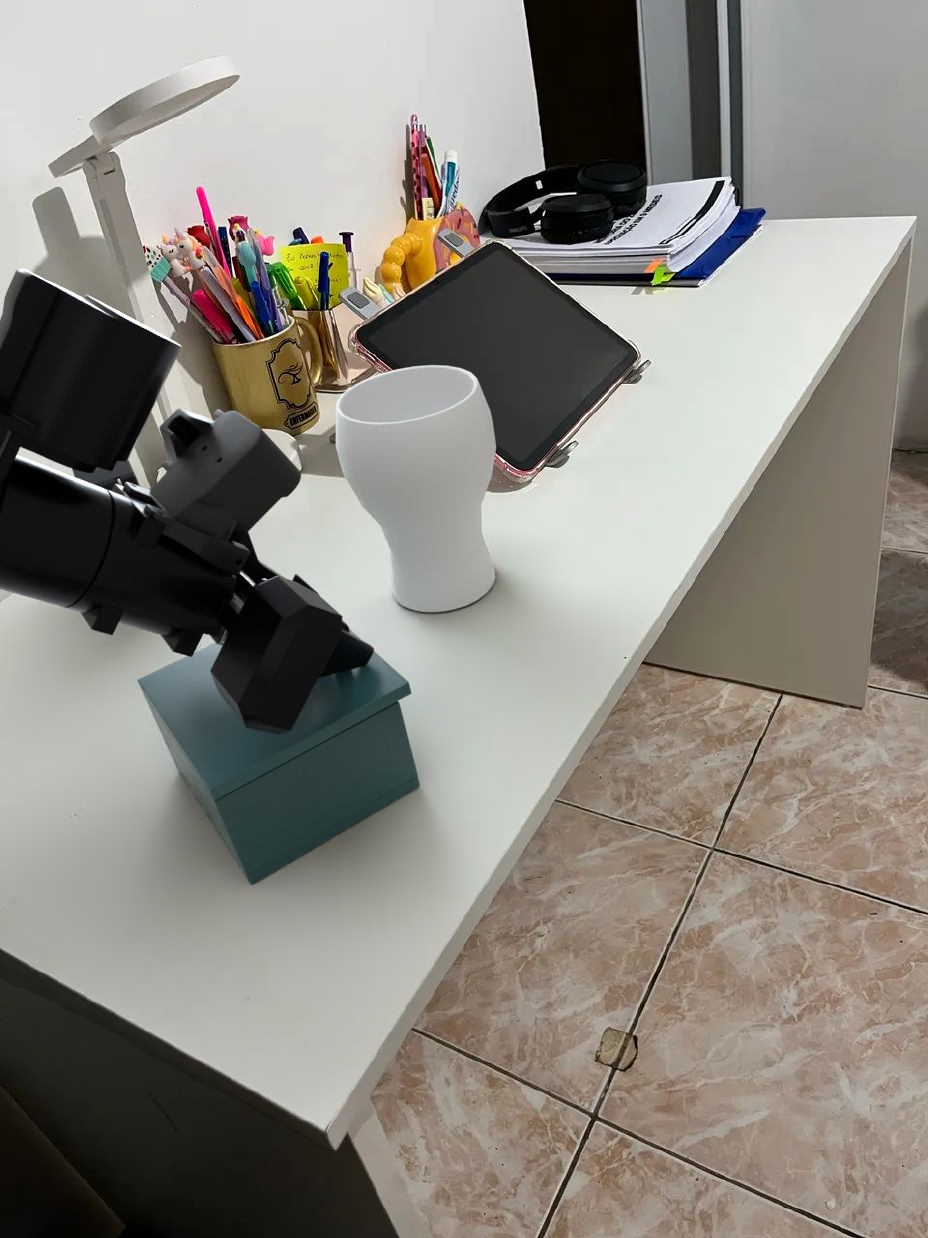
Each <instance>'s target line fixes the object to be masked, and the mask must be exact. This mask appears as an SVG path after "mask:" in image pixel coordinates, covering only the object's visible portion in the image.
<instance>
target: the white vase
mask: <svg viewBox="0 0 928 1238" xmlns="http://www.w3.org/2000/svg"><path fill="white" fill-rule="evenodd" d="M335 404H336V406H335V448H336V452H337V457H338V460H339V464H340V468H341V472H342V474H343V476H344V478H345V480H346V482H347V483H348V485H349V487H350V488H351V490H352V491H353V493H354V495H355V496H356V498H357V500H358V502H359V503H360V506H362V508H363V509H364V510H365V511H366V512H367V513H368V515H370V517H372V518H373V519H374V521H375V522H376V523H377V524H378V526H380V529H381V531H382V534H383V536H384V539H385V541H386V545H387V547H388V550H389V553H390V555H389V557H390V580H391V581H390V582H391V591H392V595H393V597H394V599H395V601H396V602H397V603H398V604H400V605H401V606H402V607H404V608H406V609H409V610H412V611H416V612H423V613H441V612H448V611H454V610H457V609H460V608H463V607H466V606H468V605H470V604H473V603H475V602H476V601H478V600H480V599H481V598H482V597H484V596H485V595H486V594H487V593H489V591H490V589H492V587H493V586H494V583H495V580H496V573H495V567H494V565H493V561H492V557H491V555H490V552H489V549H488V546H487V543H486V541H485V537H484V535H483V533H482V529H483V527H482V523H483V522H482V503H483V501H484V499H485V496H486V493H487V491H488V488H489V485H490V482H491V479H492V476H493V472H494V471H493V470H494V463H495V457H496V452H497V451H496V450H497V444H496V436H495V429H494V422H493V417H492V416H493V415H492V412H491V408H490V406H489V404H488V402H487V399H486V397H485V394H484V391H483V389H482V387H481V384H480V382H479V379H478V378H477V376H475V375H474V374H473V373H472V371H469V370H466V369H465V368H462V367H458V366H452V365H441V364H440V365H437V364H429V365H415V366H410V367H403V368H397V369H394V370H389V371H386V372H382V373H378V374H376V375H373V376H371V377H369V378H366V379H363V380H362V381H360V382H358V383H355V384H354V385H352V386H351V387H349V388H348V389H347V390H346V391H344V392H343V393H342V394H341V395H340V397H339V398H338V399H337V401H336V403H335Z"/></svg>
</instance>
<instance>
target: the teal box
mask: <svg viewBox="0 0 928 1238" xmlns="http://www.w3.org/2000/svg"><path fill="white" fill-rule="evenodd" d="M142 694H143V697H144V699H145V701H146V703H147V705H148V707H149V710H150V712H151V714H152V716H153V719H154V720H155V723H156V725H157V727H158V729H159V732H160V734H161V737H162V738H163V741H164V743H165V745H166V747H167V750H168V751H169V754H170V756H171V758H172V760H173V763H174V765H175V767H176V769H177V771H178V772H179V774H180V775H181V777H182V779H183V780H184V782H185V784H186V785H187V787H188V788H189V790H190V792H191V793H192V795H193V796H194V798H195V800H196V801H197V802H198V805H199V806H200V807H201V809H202V810H203V812H204V814H205V816H206V817H207V819H208V820H209V822H210V823H211V825H212V826H213V828H214V829H215V831H216V832H217V834H218V836H219V838H220V839H221V840H222V843H223V844H224V845H225V847H226V849H227V850H228V852H229V853H230V855H231V857H232V858H233V859H234V861H235V863H236V864H237V866H238V867H239V869H240V871H241V873H242V874H243V876H244V877H245V879H246V880H247V882H248V883H249V885H255V884H256V883H258V882H259V881H261V880H263V879H264V878H266V877H268V876H269V875H271V874H273V873H275V872H276V871H278V870H279V869H282V868H283V867H285V866H286V865H288V864H290V863H291V862H293V861H295V860H296V859H299V858H301V857H302V856H303V855H306V854H307V853H309V852H310V851H312V850H313V849H315V848H317V847H319V846H321V845H322V844H324V843H326V842H327V841H329V840H330V839H332V838H334V837H336V836H338V835H340V834H341V833H343V832H344V831H346V830H348V829H349V828H351V827H353V826H355V825H356V824H358V823H360V822H361V821H363V820H365V819H366V818H368V817H370V816H372V815H374V814H375V813H377V812H379V811H380V810H382V809H383V808H385V807H387V806H389V805H390V804H392V803H394V802H395V801H397V800H399V799H400V798H403V797H404V796H406V795H408V794H409V793H410V792H412V791H414V790H416V789H418V788H419V787H421V785H420V780H419V776H418V775H419V774H418V771H417V767H416V762H415V759H414V756H413V751H412V748H411V744H410V743H411V742H410V739H409V735H408V731H407V728H406V723H405V719H404V715H403V711H402V709H401V708H402V707H401V704H400V702H399V701H397V702H395V703H393V704H391V705H390V706H388V707H386V708H384V709H382V710H380V711H379V712H377V713H375V714H373V715H371V716H369V717H368V718H366V719H364V720H362V721H360V722H358V723H357V724H355V725H353V726H351V727H349V728H347V729H346V730H344V731H342V732H340V733H338V734H336V735H335V736H333V737H331V738H329V739H327V740H325V741H324V742H322V743H320V744H318V745H316V746H314V747H313V748H311V749H309V750H307V751H305V752H303V753H302V754H300V755H298V756H296V757H294V758H292V759H291V760H289V761H287V762H285V763H283V764H281V765H279V766H278V767H276V768H274V769H272V770H270V771H268V772H267V773H265V774H263V775H261V776H259V777H257V778H256V779H254V780H252V781H250V782H248V783H246V784H245V785H243V786H241V787H239V788H237V789H235V790H234V791H232V792H230V793H228V794H226V795H224V796H223V797H221V798H219V799H217V800H213V798H212V797H211V795H210V793H209V792H208V790H207V789H206V787H205V786H204V784H203V783H202V781H201V780H200V778H199V777H198V775H197V774H196V772H195V771H194V769H193V768H192V766H191V764H190V763H189V761H188V760H187V758H186V757H185V755H184V754H183V752H182V751H181V749H180V748H179V746H178V745H177V743H176V742H175V740H174V739H173V737H172V736H171V734H170V732H169V731H168V729H167V728H166V726H165V725H164V723H163V722H162V720H161V719H160V717H159V716H158V714H157V713H156V711H155V710H154V708H153V707H152V705H151V704H150V702H149V700H148V699H147V697H146V696H145V694H144V693H143V692H142Z"/></svg>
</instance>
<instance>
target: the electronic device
mask: <svg viewBox="0 0 928 1238" xmlns="http://www.w3.org/2000/svg"><path fill="white" fill-rule="evenodd" d="M71 470H72V473H73V477H76V478H78V479H81V480H83V481H86V482H89V483H91V484H94V485H96V486H99V487H102V488H104V489H107V490H109V491H112V489H113V487H114V484H118V485H120V486H124V484H125V482H129V483H132V484H134V485H137V486H139V487H141V484H140V482H139V479H138V478H137V475H136V473H135V470H134V468H133V467H132V465H131V462H130V460H129V459H128V461H126V462H124V461H117V463H116V465H115V467H114V469H113V471H109V470H105V469H102V468H98V467H97V469H96V471H95V473H86V472H81V471H78V470H75V469H72V468H71Z"/></svg>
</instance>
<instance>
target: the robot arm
mask: <svg viewBox="0 0 928 1238" xmlns="http://www.w3.org/2000/svg"><path fill="white" fill-rule="evenodd" d="M182 348H183V346H182V345H181V344H179V343H177V342H176V341H175V340H173V339H171V338H169V337H167V336H165V335H163V334H162V333H159V332H158V331H156V330H155V329H153V328H151V327H149V326H147V325H145V324H143V323H141V322H139V321H138V320H135V319H134V318H132V317H131V316H128V315H126V314H125V313H122V312H121V311H119V310H117V309H115V308H113V307H112V306H109V305H107V304H105V303H104V302H103V301H100V300H98V299H96V298H94V297H93V296H90V295H88V294H85V295H84V297H82V296H80V295H78V294H76V293H75V292H73V291H70V290H69V289H66V288H65V287H62V286H60V285H58V284H57V283H54V282H52V281H49V280H46V279H45V278H43V277H42V276H40V275H38V274H35V273H33V272H32V271H30V270H28V269H26V268H20V269H16V270H15V272H14V274H13V277H12V279H11V281H10V282H9V286H8V288H7V290H6V293H5V295H4V300H3V307H2V314H1V316H0V590H2V591H6V592H9V593H13V594H16V595H18V596H23V597H26V598H30V599H33V600H37V601H39V602H44V603H47V604H51V605H54V606H58V607H61V608H64V609H68V610H72V611H74V612H79V613H80V614H81V615H82V617H83V619H84V620H85V622H86V623H87V625H88V627H89V628H90V630H92V631H95V632H99V633H102V634H106V635H110V636H113V635H114V633H115V631H116V629H117V628H118V625H119V624H121V625H125V626H128V627H131V628H135V629H138V630H141V631H142V630H143V631H146V632H150V633H152V634H156V635H159V636H160V637H161V638H162V639H163V641H164V642H165V643H166V644H167V646H168V647H169V648H170V649H171V651H172V652H173V653H175V654H178V655H182V656H185V657H186V656H189V657H192V656H193V654H194V653H195V652H196V650H197V648H198V646H199V644H200V642H201V640H202V639H203V636H204V635H207V636H210V638H211V639H212V640H213V641H214V643H216V644H219V645H223V646H222V648H221V650H220V652H219V654H218V656H217V658H216V660H215V662H214V664H213V666H212V668H211V670H210V672H211V674H212V677H213V679H214V682H215V684H216V687H217V689H218V692H219V693H220V695H221V696H222V697H223V698H224V700H225V701H226V702H227V704H228V705H229V706H230V707H231V709H232V710H233V711H234V713H235V714H236V715H237V716H238V718H239V719H240V720H241V722H242V723H243V724H244V725H245V727H246V728H250V729H255V730H259V731H264V732H268V733H272V734H277V735H282V734H285V733H287V732H289V731H291V730H292V728H293V726H294V724H295V722H296V720H297V718H298V716H299V714H300V713H301V711H302V709H303V707H304V705H305V703H306V701H307V699H308V697H309V695H310V693H311V691H312V690H313V688H314V686H315V684H316V682H317V680H318V678H322V677H325V676H329V675H333V674H337V673H340V672H344V671H348V670H352V669H355V668H359V667H363V666H366V665H367V664H368V662H369V660H370V658H371V657H372V655H373V653H374V651H375V648H374V647H373V646H372V645H371V644H370V643H368V642H366V640H365V641H364V640H363V639H362V638H360V637H359V636H358V637H359V638H358V637H356V636H355V635H353V634H351V633H350V632H348V631H346V630H345V629H343V628H342V620H343V615H342V614H341V613H340V612H339V611H337V610H336V609H335V608H334V607H333V606H332V605H331V604H329V603H328V602H327V601H326V600H325V599H324V598H323V597H322V596H320V593H319V592H318V591H317V590H316V589H314V588H313V587H312V586H311V585H310V584H309V583H308V582H306V581H305V580H304V579H303V578H302V577H301V576H300V575H298V574H297V573H295V574H294V576H293V577H292V580H291V579H289V578H286V577H285V576H283V575H282V574H280V573H279V572H277V570H276V571H275V570H274V569H272V568H271V567H270V566H268V565H267V564H266V563H264V562H262V561H261V560H260V559H259V558H258V555H257V552H256V550H255V547H254V543H253V542H252V538H251V536H250V533H249V531H250V530H252V529H253V528H254V526H256V524H257V523H258V522H259V521H260V520H261V519H263V517H264V516H266V514H267V513H268V512H269V511H270V510H271V509H272V508H273V507H274V506H275V505H276V504H277V503H278V502H279V501H280V500H281V499H282V498H288V497H289V496H290V495H291V494H293V492H294V491H295V490H296V489H297V487H298V485H299V484H300V482H301V479H302V472H301V470H300V469H299V468H298V467H297V466H296V465H295V464H294V463H293V461H291V459H290V458H289V457H288V456H287V455H286V454H285V453H284V451H282V449H281V448H280V447H279V446H278V445H277V444H276V443H275V442H274V441H273V440H272V439H271V438H270V436H269V435H268V434H267V433H266V432H265V431H264V429H262V428H261V427H260V426H259V425H258V424H256V423H254V422H253V421H251V420H250V419H249V418H247V417H246V416H244V415H242V414H241V413H239V412H238V411H236V410H229V411H226V412H224V411H222V410H221V409H219V408H217V409H216V410H215V411H214V412H213V413H212V415H213V416H214V417H215V419H213V420H212V419H211V418H209V417H207V416H204V415H201V414H199V413H196V412H193V411H189V410H186V409H183V408H177V409H175V410H174V411H173V413H171V414H170V415H169V416H168V417H167V419H165V421H163V422H162V423H161V425H159V432H160V435H161V438H162V440H163V443H164V447H165V451H166V453H167V455H168V459H169V460H170V461H171V462H172V463H171V462H169V460H165V461H164V462H163V463H162V464H161V467H162V468H163V469H164V470H165V471H166V472H165V473H164V475H163V476H162V477H161V478H160V479H159V480H158V481H157V482H156V484H155V485H154V486H153V487H152V488H151V489H148V488H144V487H142V486H140V487H139V486H137V485H134V484H132V483H129V482H125V484H124V486H120V485H118V484H114V487H113V489H112V491H109V490H107V489H104V488H102V487H99V486H96V485H94V484H91V483H89V482H86V481H83V480H81V479H78V478H76V477H75V476H74V475H70V474H68V473H65V472H62V471H60V470H57V469H54V468H51V467H49V466H47V465H44V464H42V463H39V462H36V461H34V460H32V459H29V458H26V457H23V456H21V455H18V454H19V451H20V449H24V450H27V451H29V452H31V453H34V454H36V455H38V456H40V457H43V458H45V459H47V460H49V461H51V462H54V463H56V464H59V465H61V466H64V467H66V468H69V469H71V470H72V469H75V470H78V471H81V472H86V473H95V471H96V469H97V467H98V468H102V469H105V470H109V471H113V469H114V467H115V465H116V463H117V461H124V462H126V461H128V460H129V459H130V457H131V455H132V453H133V450H134V449H135V448H136V447H135V446H136V444H137V442H138V440H139V438H140V436H141V434H142V432H143V430H144V428H145V425H146V423H147V421H148V419H149V417H150V415H151V413H152V411H153V408H154V407H155V405H156V402H157V400H158V398H159V395H160V394H161V392H162V390H163V387H164V386H165V384H166V381H167V379H168V377H169V375H170V373H171V371H172V368H173V366H174V365H175V362H176V360H177V358H178V356H179V354H180V353H181V349H182Z"/></svg>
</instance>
